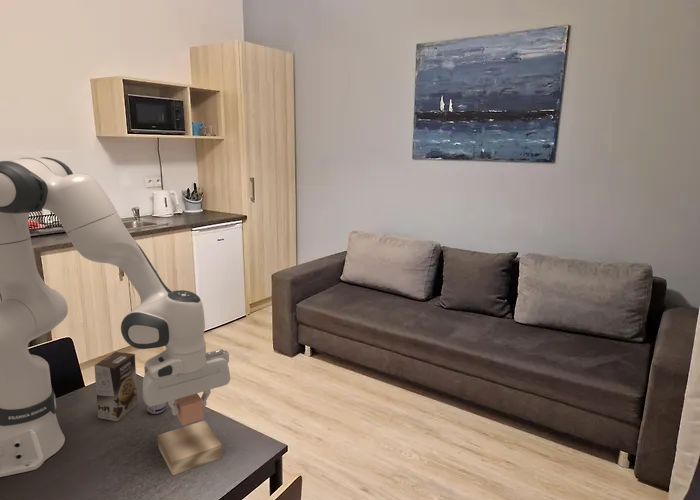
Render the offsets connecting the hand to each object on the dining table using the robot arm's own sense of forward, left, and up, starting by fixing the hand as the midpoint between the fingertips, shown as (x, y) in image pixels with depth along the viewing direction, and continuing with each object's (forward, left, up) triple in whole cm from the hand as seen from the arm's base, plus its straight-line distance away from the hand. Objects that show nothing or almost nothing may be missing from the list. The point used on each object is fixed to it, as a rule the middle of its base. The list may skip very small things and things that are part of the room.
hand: (189, 409), depth 116 cm
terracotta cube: (0, 0, -2) cm, 2 cm away
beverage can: (-2, +23, -12) cm, 26 cm away
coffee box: (-11, +28, -12) cm, 33 cm away
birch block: (0, 0, -13) cm, 13 cm away
